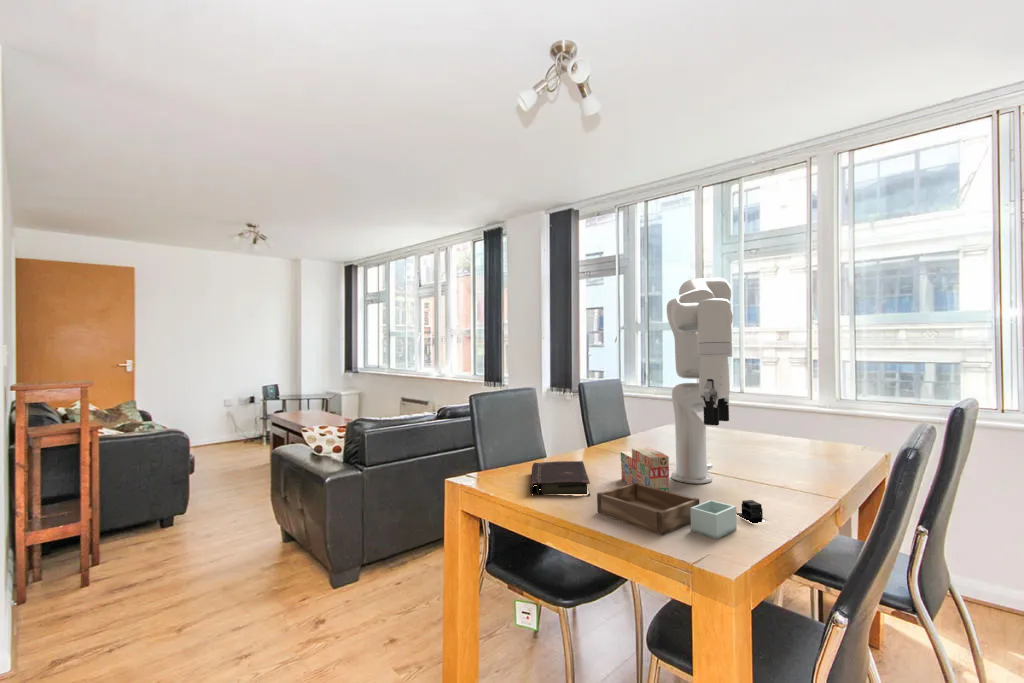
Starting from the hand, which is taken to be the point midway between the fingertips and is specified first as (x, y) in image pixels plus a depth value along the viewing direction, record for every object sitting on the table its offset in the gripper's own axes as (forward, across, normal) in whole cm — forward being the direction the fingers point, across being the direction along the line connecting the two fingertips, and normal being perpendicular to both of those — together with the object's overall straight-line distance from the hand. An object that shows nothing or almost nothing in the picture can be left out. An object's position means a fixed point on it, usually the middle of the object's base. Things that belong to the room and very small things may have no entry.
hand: (716, 422), depth 114 cm
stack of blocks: (+25, -25, -28) cm, 45 cm away
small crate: (+26, -1, -2) cm, 26 cm away
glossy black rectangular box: (+26, -15, +4) cm, 30 cm away
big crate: (+25, -1, -18) cm, 31 cm away
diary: (+25, -14, -52) cm, 59 cm away
